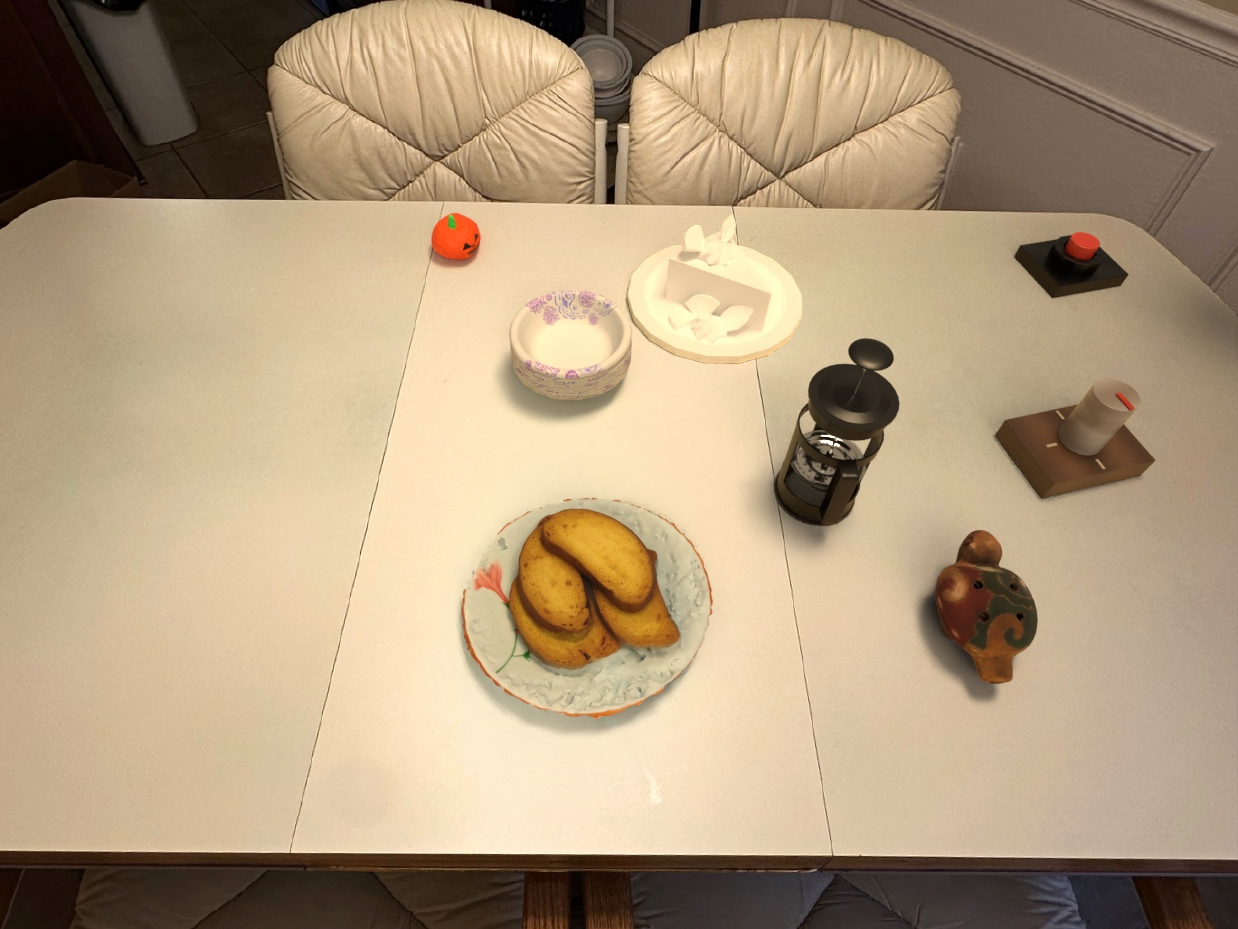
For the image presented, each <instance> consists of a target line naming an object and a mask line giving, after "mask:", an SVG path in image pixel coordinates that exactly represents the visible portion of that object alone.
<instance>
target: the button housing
mask: <svg viewBox="0 0 1238 929" xmlns="http://www.w3.org/2000/svg"><path fill="white" fill-rule="evenodd" d="M1072 235H1073V234H1069V235H1062V236H1060V237H1059V238H1055V239H1050V240H1044V241H1043V240H1042V241H1038V242H1031V243H1026V244H1025V243H1024V244H1020V245H1019V247H1018V248H1017V250H1016V252H1015V254H1014V256H1013V258H1014V259H1015V260H1016V261H1017V262H1018V263H1019V264H1020V265H1021V266H1022V267H1023V269H1024V270H1025V271H1027V273H1028V274H1029V275H1030V276H1031V277H1032V278H1033V280H1035V281H1036V283H1037V284H1038V285H1039V286H1040V287H1041V288H1042V289H1043V291H1045V293H1046V294H1048V296H1049V297H1050V298H1051V299H1055V298H1062V297H1067V296H1072V295H1079V294H1084V293H1089V292H1095V291H1100V290H1105V289H1110V288H1111V289H1112V288H1116V287H1117V288H1118V287H1121V286H1122V285H1123V284H1124V282H1125V281H1126V279H1127V278H1128V277H1129V275H1130V274H1129V273H1128V272H1127V271H1126V270H1125V269H1124V268H1123V267H1122V266H1121V265H1119V264H1118V263H1117V261H1116V260H1114V259H1113V258H1112V257H1111V256H1110V255H1109V254H1108V253H1107V252H1106V251H1105V250H1104V249H1103V248H1102V246H1101V245H1100V246H1099V247H1098V249H1097V251H1096V252H1095V254H1094V255H1093V257H1092V258H1091V259H1087V260H1085V259H1079V258H1076V257H1074V256H1072V255H1070V254H1068V253H1067V252H1066V251H1065V246H1066V244H1067V242H1068V241H1069V239H1070V238H1071V236H1072Z"/></svg>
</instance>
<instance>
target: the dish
mask: <svg viewBox="0 0 1238 929" xmlns="http://www.w3.org/2000/svg"><path fill="white" fill-rule="evenodd" d="M736 228H737V223H736V219H735V216H734V214H733V213H732V214H730V215H728V217H727V218H725V220H724V221H723V224H722V225H721V229H719V230H718V231H715V232H714V233H712V234H710V235H708V236H707V237H705V235H704V232H703V229H702V226H701V224H694V225H692V226H690V227H689V228H688V229H686V230H684V233H683V235H682V237H681V238H682V239H681V243H679V244H674V245H669V246H667V247H664V248H663V249H661V250H659V251H657V252H656V253H653V254H652V255H650V256H648V257H646V258H645V259H644V260H643V262H641V264H640V265H639V266H638V267H637V268H636V269H635V270H634V272H633V273H632V274H631V278H630V282H629V287H628V291H627V304H628V308H629V311H630V315H631V319H632V322H633V323H634V324H635V326H637V327H638V329H639V330H640V331H641V332H642V333H643V335H645V337H646V338H647V339H648V340H649V341H650V342H652V343H654V344H655V345H657V346H658V347H661V348H662V349H664V350H666V351H668V352H669V353H671V354H673V355H674V356H677V357H681V358H685V359H688V360H692V361H696V362H701V363H704V364H741V363H745V362H749V361H752V360H757V359H760V358H763V357H767V356H769V355H771V354H772V353H774V352H775V351H776V350H778V349H780V348H781V347H782V346H784V345H785V344H787V343H788V342H790V340H791V338H792V336H793V335H794V333H795V331H796V330H797V328H798V326H799V325H800V323H801V319H802V316H803V295H802V292H801V290H800V289H799V286H798V285H797V283H796V281H795V279H794V277H793V275H792V274H790V272H788V271H787V270H786V269H785V268H784V267H783V266H781V265H780V264H779V263H778V262H777V261H776V260H775V259H774V258H771V257H769V256H768V255H765V254H763V253H761V252H759V251H757V250H754V249H753V248H751V247H747V246H743V245H739V244H737V243H736V242H735V240H734V239H733V236H734V234H736Z"/></svg>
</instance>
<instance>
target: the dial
mask: <svg viewBox="0 0 1238 929" xmlns="http://www.w3.org/2000/svg"><path fill="white" fill-rule="evenodd" d="M1076 405H1077V404H1076ZM1140 405H1141V397H1140V394H1139V393H1138V392H1137V390H1136V389H1135V388H1133V387H1132V386H1131V385H1130V384H1128V383H1126V382H1124V381H1122V380H1120V379H1116V378H1110V377H1104V378H1100V379H1098V380H1095V382H1094V383H1093V384H1092V385H1091V387H1090V389H1088V391H1087V392H1086V393H1085V394H1084V396H1083V397H1082V398H1081V400H1079V402H1078V405H1077V406H1076V408H1075V409H1074V410H1073V411H1072V413H1071V414H1070V415H1069V416H1068V418H1067V419H1066V420H1065V422H1064V423H1063V424H1062V425H1061V427H1060V428H1059V430H1058V437H1059V440H1060V441H1061V443H1062V444H1063V445H1064V446H1065V447H1066V448H1067V449H1069V450H1070V451H1072V452H1074V453H1077V454H1080V455H1086V456H1090V455H1094V454H1097V453H1098V452H1099V451H1100V450H1101V449H1102V448H1103V447H1104V446H1105V445H1106V443H1107V442H1108V441H1109V440H1110V439H1111V438H1112V437H1113V436H1114V434H1115V433H1116V432H1117V431H1118V430H1119V429H1120V428H1121V426H1122V425H1123V424H1124V425H1125V423H1126V422H1127V421H1128V420H1129V419H1130V418H1131V416H1133V414H1134V413H1135V412H1136V410H1138V408H1139V407H1140Z"/></svg>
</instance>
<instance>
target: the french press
mask: <svg viewBox="0 0 1238 929" xmlns="http://www.w3.org/2000/svg"><path fill="white" fill-rule="evenodd" d="M847 353H848V357H849V358H850V360H851V361H852V362H853V363H835V364H831V365H828V366H826V367H823V368H821V369H819V370H818V371H817V372H816V373H815V374H814V375H813V376H812V378H811V379H810V381H809V384H808V387H807V398H808V402H807V403H805V405H804V406H803V407H802V408H801V409H800V411H799V414H798V417H797V419H796V421H795V422H796V423H795V428H794V430H793V433H792V437H791V439H790V442H789V445H788V448H787V451H786V455H785V457H784V460H783V461H782V464H781V467H780V470H779V471H778V472H777V474H776V476H775V478H774V483H773V492H774V496H775V499H776V501H777V502H778V505H779V506H780V507H781V508H782V510H783V511H784V512H785V513H786V514H788V516H790V517H791V518H792V519H795V520H796V521H798V522H800V521H801V522H800V523H803V524H806V525H810V526H816V527H825V526H826V527H827V526H832V525H838V523H840V522H842V521H843V520H844V519H846V518H847V517H848V516H849V515H850V514H851V512H852V511H853V508H854V506H855V503H856V498H857V496H858V493H859V491H860V489H861V483H862V481H863V479H864V476H865V474H866V473H867V470H868V469H869V466H870V465H871V463H872V461H873V460H875V458H876V457H877V455H878V454H879V452H880V450H881V447H882V446H883V444H884V440H885V429H886V428H887V427H888V426H889V425H891V424H892V423H893V421H894V420H895V419H896V418H897V416H898V413H899V411H900V405H901V404H900V397H899V395H898V392H897V390H896V388H895V387H894V386H893V384H892V383H891V382H890V381H889V380H888V379H887V378H886V377H884V376H883V375H882V374H880V373H879V372H880V371H884V370H887V369H889V368H890V367H891V366H892V365H893V363H894V361H895V356H894V353H893V350H892V349H891V348H890V347H889V346H888V345H887V344H886V343H884V342H882V341H880V340H878V339H874V338H868V337H865V338H858V339H856V340H854V341H852V342H851V343H850V344H849V346H848V349H847ZM807 412H809V415H810V417H811V418H812V420H813V422H814V426H813V429H812V430H810V431H806V432H804V433H803V431H802V429H801V421H800V420H801V419H802V417H803V416H804V415H805V413H807ZM866 440H869V441H868V445H867V447H866V449H865V451H864V453H863V451H862V450H861V449H860V447H859V446H858V445H857V444H856V443H855V442H856V441H857V442H859V441H860V442H861V441H866ZM793 473H794V474H795V475H796V476H797V478H798V479H799V480H800V481H801V482H803V484H806V485H807V486H809V487H810V488H811V489H815V490H817V491H820V492H823V493H824V495H823V498H822V500H821V502H820V504H819V506H818V505H815V504H811V503H809V502H807V501H804V500H802V498H799V497H798V496H797V495H796V494H795V493H794V492H793V491H792V490H791V489H790V488H789V487H788V484H787V481H788V479H789V477H790V476H791V475H792V474H793Z"/></svg>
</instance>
